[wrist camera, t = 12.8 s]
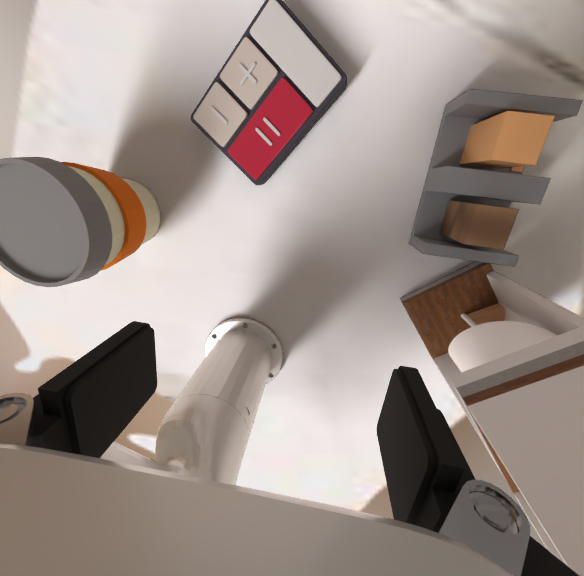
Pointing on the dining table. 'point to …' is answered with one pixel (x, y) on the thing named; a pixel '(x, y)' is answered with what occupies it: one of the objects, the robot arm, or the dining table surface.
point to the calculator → (269, 92)
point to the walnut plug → (478, 224)
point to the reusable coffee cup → (69, 219)
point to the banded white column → (516, 390)
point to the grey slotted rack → (477, 172)
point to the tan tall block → (506, 140)
